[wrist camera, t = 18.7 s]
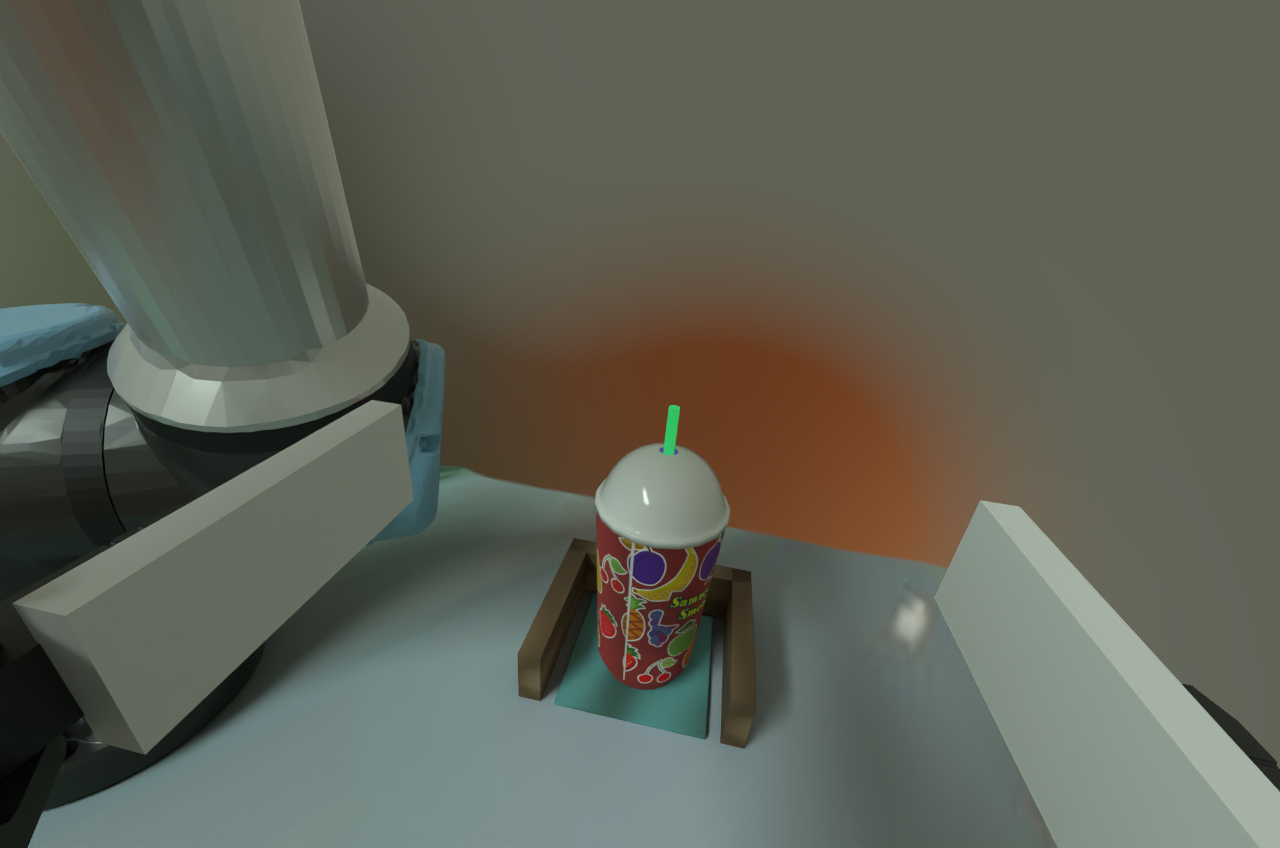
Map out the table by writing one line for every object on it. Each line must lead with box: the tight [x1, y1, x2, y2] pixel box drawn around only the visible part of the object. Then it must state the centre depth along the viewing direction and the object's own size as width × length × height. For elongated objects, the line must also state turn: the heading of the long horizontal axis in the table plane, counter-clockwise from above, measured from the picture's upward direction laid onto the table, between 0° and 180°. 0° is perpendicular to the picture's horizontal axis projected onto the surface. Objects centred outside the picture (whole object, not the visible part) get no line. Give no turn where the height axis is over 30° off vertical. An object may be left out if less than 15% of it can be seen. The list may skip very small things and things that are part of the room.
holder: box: [518, 538, 756, 748], centre depth 37 cm, size 15×12×4 cm
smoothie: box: [595, 405, 731, 690], centre depth 32 cm, size 8×8×20 cm
